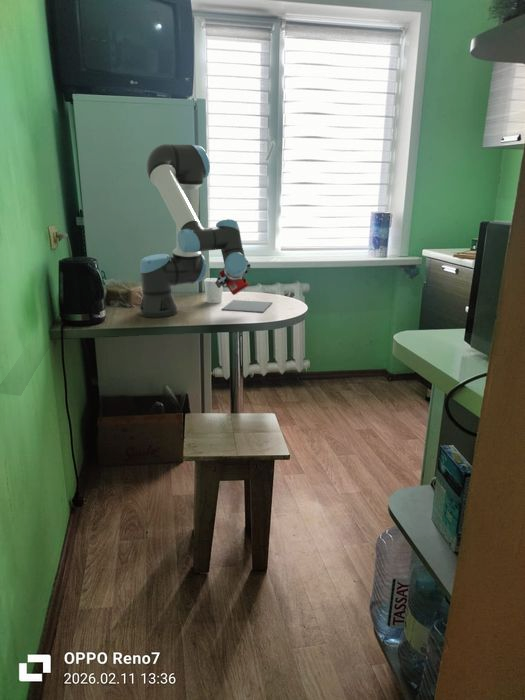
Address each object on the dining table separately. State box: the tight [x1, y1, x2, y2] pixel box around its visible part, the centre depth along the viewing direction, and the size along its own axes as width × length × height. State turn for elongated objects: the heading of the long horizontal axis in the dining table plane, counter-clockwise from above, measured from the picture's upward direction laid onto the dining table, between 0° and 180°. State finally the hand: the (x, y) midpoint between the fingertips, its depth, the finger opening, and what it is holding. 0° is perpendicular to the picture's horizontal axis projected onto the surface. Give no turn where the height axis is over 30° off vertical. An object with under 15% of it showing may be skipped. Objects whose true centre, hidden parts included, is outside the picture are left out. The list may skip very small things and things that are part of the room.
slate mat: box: [221, 299, 273, 314], centre depth 212 cm, size 18×16×1 cm
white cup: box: [203, 277, 223, 304], centre depth 219 cm, size 8×8×10 cm
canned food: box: [218, 266, 250, 296], centre depth 199 cm, size 8×8×11 cm
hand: (232, 277), depth 204 cm, fingers closed on canned food, 8 cm apart
